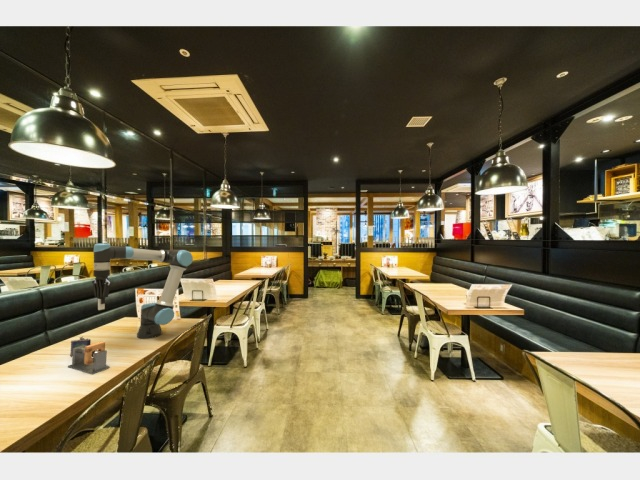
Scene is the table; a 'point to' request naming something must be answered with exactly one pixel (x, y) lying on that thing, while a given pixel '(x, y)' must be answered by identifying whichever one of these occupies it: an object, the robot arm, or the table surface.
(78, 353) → the pipe rail
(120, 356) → the table surface
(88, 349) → the orange square ring
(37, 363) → the table surface
